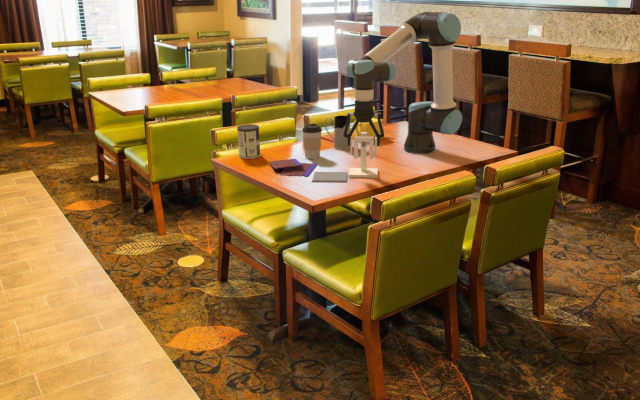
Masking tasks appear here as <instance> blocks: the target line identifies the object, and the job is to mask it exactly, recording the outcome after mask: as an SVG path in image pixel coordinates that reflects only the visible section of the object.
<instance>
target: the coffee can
mask: <svg viewBox="0 0 640 400" xmlns="http://www.w3.org/2000/svg"><path fill="white" fill-rule="evenodd" d="M236 129H237V130H236V131H237V141H238V157H239V158H240V159H247V160H248V159H249V160H250V159H251V160H252V159H256V158H259V157H261V144H260V125H257V124H242V125H238V126H236Z"/></svg>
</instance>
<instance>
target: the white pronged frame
mask: <svg viewBox="0 0 640 400" xmlns="http://www.w3.org/2000/svg"><path fill="white" fill-rule="evenodd" d="M361 142H367V143H369V145H368V146H369V156H368V157H369V159H370V160H371V159H374V146H375V141H374V136H354V139H353V159H357V160H358V159H359V143H361Z"/></svg>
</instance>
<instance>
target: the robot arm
mask: <svg viewBox="0 0 640 400" xmlns="http://www.w3.org/2000/svg"><path fill="white" fill-rule="evenodd" d="M461 33H462V24H461V20H460V19H459V17H458V16H457V15H456V14H455V13H452V12H446V11H445V12H443V11H441V12H439V11H422V12H420V13H417V14H415V15H413V16H411V17H410V18H408V19H406V20H405V21H404V22H402V23H401V24H400V25H399V27H398V29H396V31H394V32H393V33H392V34H390V35H389V36H388V37H387V38H385V39H384V40H383V41H381V42H380V43H378V44H377V45H376V46H374V47H373V48H372V49H371V50H369V51H368V52H367V53H365V54H364V55H363V56H361V57H360V58H358V59H357V58H356V59H355V58H354V59H351V60H349V61H348V63H347V64H346V69H345V70H346V73H347V75H348V76H349V77H351V78H354V99H355V100H354V111H353V112H347V113H346V116H347V122H346V126H345V130H344V134H343V136H344V137H347V138H348V146H350V148H349V149H350V151H349V154H350V155H353V132H354V130H355V129H356V127H357V125H358V123H359V122H360V123H363V122H365V123H368V122H369V124H370V125H371V127H372V129H373V131H374V133H375V135H376V137H375V141H374V155H378V147H380V143H381V142H380V141H381V140H380V138H381V137H383V138H384V137H385V130H384V131H383V127H384V126H383V127H382V123H381V119H382V118H381V117H382V114H381V112H375V111H374V92H375V91H374V89H375V88H374V85H375V84H377V83H383V82H384V83H387V82H390V81H392V80H394V79H395V78H396V77H397V76H396V75H397V68H396V65H395V64H394V63H392V62H391V61H389V62H388V60H389V59H390V58H392V57H393V56H394V55H396V54H397V53H398V52H399V51H401V50H402V49H403V48H404V47H406V46H407V45H409V44H413V43H415V42H416V41H418V40H427V41H428V47H429V48H431V51H432V52H431V57H432V87H433V89H432V90H433V101H418V102H417V101H416V102H412V103H411V104H409V106H408V112H407V113H408V115H407V116H408V117H407V118H408V120H407V122H408V123H407V136H406V139H405V141H404V144H403V150H404V151H405V152H407V153H411V154H430V153H431V154H432V153H434V152H436V141H435V140H434V136H433V133H438V134H441V135H449V136H450V135H453V134H455V133H456V132H458V130H459V129H460V128H461V125H462V122H463V114H462V112H461V111H460V110H459V109H457V102H455V101H454V84H453V82H454V81H453V80H454V79H453V76H454V75H453V47H454V46H456V41H458V39H459V37H460V36H461ZM353 116H354V118H355V120H356V121H355V120H354V122H355V123H354V122H353V125H352V127H351V128H350V132H349V134H347V131H348V127H349V123H350V124H351V119H352V118H353ZM374 116H375V118H376V119H378V124H379V128H380V132H381V134H379V133H378V131H377V129H376V127H375V125H374V124H373V122H372V120H371V119H372V118H374Z"/></svg>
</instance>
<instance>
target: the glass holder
mask: <svg viewBox="0 0 640 400" xmlns="http://www.w3.org/2000/svg"><path fill="white" fill-rule="evenodd" d="M327 120H330V121H331V126H332V127H333V134H334V135H331V133H330V132H329V130H328V128H327ZM346 122H347V115H337V116H334V121H333V119H332V118H330V117H328V118H325V119H324V128H325V131H326V133H327V134H328V136H330V137H331V139H332V140H334V141H333V143H334V144H333V149H336V150H348V149H350V146H348V138H347V137H344V136H343V134H344V130H345V126H346ZM350 131H351V122H350V123H349V127H348V131H347V134H349V132H350Z"/></svg>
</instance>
